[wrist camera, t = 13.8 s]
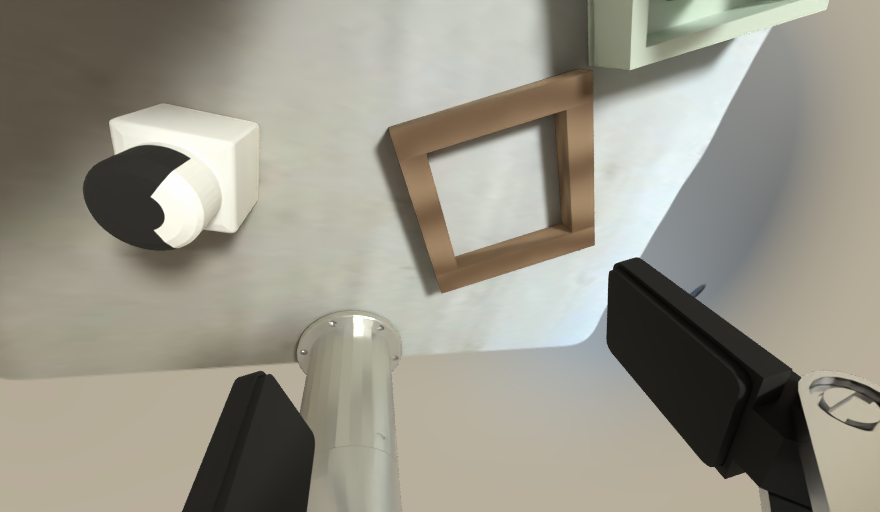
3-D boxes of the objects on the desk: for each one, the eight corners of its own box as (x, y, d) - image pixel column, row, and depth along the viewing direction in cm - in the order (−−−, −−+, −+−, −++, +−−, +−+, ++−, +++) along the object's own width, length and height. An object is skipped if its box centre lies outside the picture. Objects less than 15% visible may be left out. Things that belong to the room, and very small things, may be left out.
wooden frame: (583, 234, 42) (594, 245, 40) (437, 280, 42) (441, 293, 39) (577, 68, 32) (592, 70, 30) (388, 127, 32) (389, 133, 30)
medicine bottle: (171, 186, 31) (77, 256, 21) (161, 101, 28) (44, 135, 18) (259, 200, 33) (212, 270, 23) (260, 122, 30) (205, 164, 20)
